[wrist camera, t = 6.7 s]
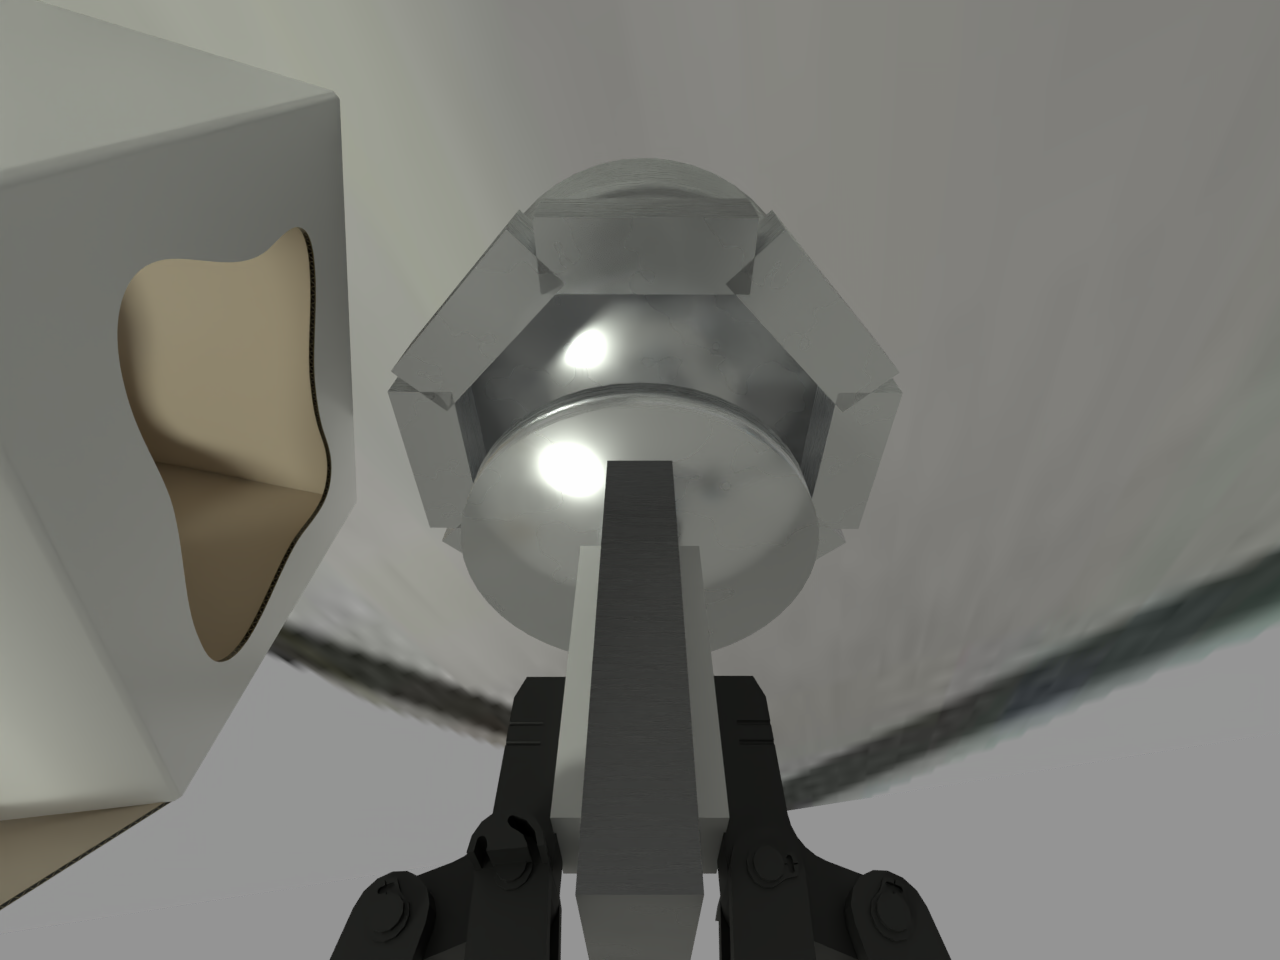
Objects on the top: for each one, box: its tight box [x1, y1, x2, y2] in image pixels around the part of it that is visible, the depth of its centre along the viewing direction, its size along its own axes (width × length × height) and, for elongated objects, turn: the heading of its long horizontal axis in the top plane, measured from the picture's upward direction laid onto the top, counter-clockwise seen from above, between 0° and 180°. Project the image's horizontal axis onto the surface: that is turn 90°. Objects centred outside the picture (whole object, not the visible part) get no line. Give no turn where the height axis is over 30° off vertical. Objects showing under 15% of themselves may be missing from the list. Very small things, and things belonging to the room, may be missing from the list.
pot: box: [388, 158, 903, 560], centre depth 26 cm, size 16×22×11 cm
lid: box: [461, 382, 819, 960], centre depth 13 cm, size 10×10×10 cm
